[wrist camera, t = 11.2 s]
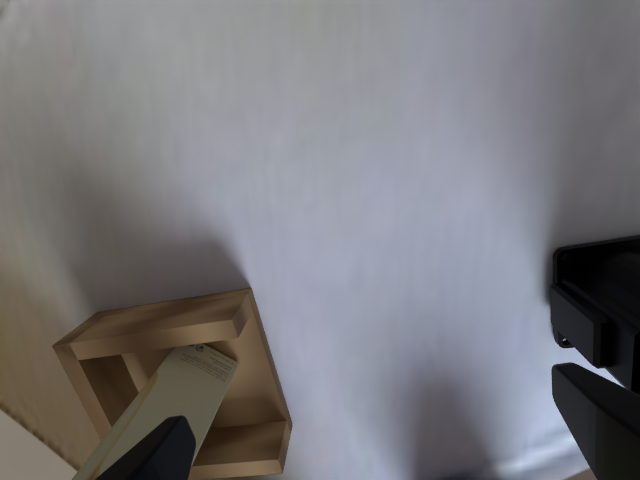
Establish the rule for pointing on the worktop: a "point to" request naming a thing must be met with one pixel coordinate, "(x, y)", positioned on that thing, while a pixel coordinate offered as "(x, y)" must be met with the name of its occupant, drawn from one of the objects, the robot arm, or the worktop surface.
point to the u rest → (151, 350)
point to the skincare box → (168, 403)
